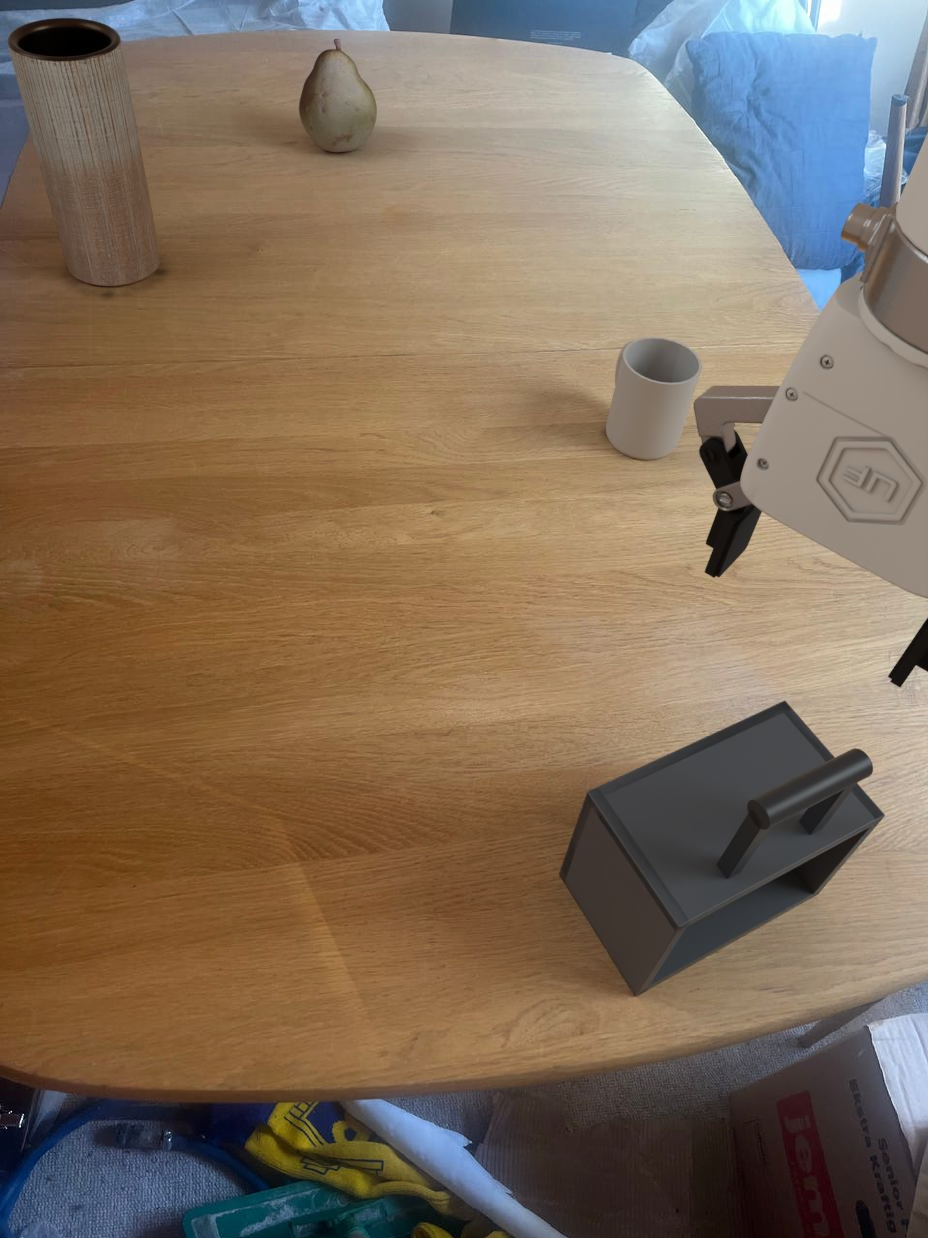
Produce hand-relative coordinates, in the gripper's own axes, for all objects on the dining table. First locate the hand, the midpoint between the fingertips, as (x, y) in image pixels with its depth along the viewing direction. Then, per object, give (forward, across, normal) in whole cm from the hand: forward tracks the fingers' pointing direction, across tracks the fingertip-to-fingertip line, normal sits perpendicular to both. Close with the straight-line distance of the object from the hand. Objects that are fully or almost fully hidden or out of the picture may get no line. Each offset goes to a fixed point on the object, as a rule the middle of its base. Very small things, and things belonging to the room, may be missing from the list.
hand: (811, 611), depth 46 cm
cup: (+25, -28, +36) cm, 52 cm away
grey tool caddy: (+16, -3, 0) cm, 16 cm away
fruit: (+24, -89, +57) cm, 109 cm away
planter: (+24, -86, +18) cm, 91 cm away
